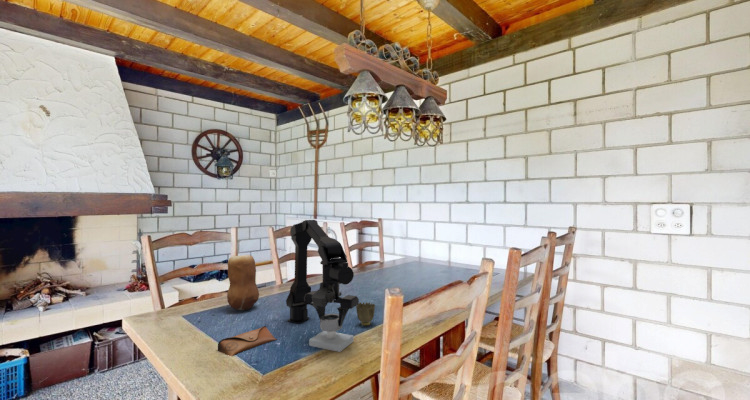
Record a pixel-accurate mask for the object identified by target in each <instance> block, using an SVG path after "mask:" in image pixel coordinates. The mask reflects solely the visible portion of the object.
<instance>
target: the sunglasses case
mask: <svg viewBox="0 0 750 400" xmlns="http://www.w3.org/2000/svg"><path fill="white" fill-rule="evenodd" d="M277 340H278V339H277V338H275V336H274V335H273V334H272V332H270V330H269V329H268V328H267V326H265V325H264V326H261V327H260V328H257V329H253V330H250V331H246V332H242V333H240V334H238V335H237V334H236V335H235V336H229V337H225V338H223V339H220V341H219V342H218V343H217V351H218V352H220V353H222V354H224V353H225V354H224V355H226V356H228V355H229V356H228V357H230V356H231V357H234V356H236V355H239V354H241V353H244V352H246V351H248V350H252V349H254V348H258V347H260V346H263V345H265V344H269V343H272V342H275V341H277ZM243 351H244V352H243ZM238 353H239V354H238Z"/></svg>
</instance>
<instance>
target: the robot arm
mask: <svg viewBox="0 0 750 400" xmlns="http://www.w3.org/2000/svg"><path fill="white" fill-rule="evenodd" d="M318 223H319V222H318V221H317V220H316V219H305V220H302V221H301V222H298V223H296V224H293V225H292V226H291V227H290V232H289V234H290V237H291V238H290V239H291V241H292V242H293V244H294V247H295V249H294V279H293V280H294V281H293V282H292V284H291V286H290V287H289V293H288V295H287V298H286V299H285V302H286V303H285V304H286V306H287V307H288V308H289V319H287V322H290V323H295V324H301V323H303V322H306V321H307V320H309V319H310V317H309V316H308V315H309V313H308V312H309V311H308V305H310V306H311V307H313V308H314V309H315V311H316V312H317V315H318V318H319V319H320V317H322V316H323V315H326V306H327V305H328V304H332V303H336V304H339V305H340V306H338V307H337V308H336V309H337V311H338V314H339V326H342V327H343V324H344V322H345V321H344V320H345V318H346V316H347V313H348V312H349V310H350V309H353V308H355V307H356V306H357V305H358V304H359V303H360V302H359V300H360V299H359V297H358V296H357V295H350V294H348V295H346V296H344V297H341V296H342V292H341V291H340V285H349V284H350V283H351V282H352V281H353V279H354V274H355V273H354V271H353V269H352V268H351V267H350V266H349V263H348V259H347V257H348V256H347V254H346V252H345V250H344V248H343V245H342V244H341V242H340V241H338V240H337V239H335V238H333V237H330V236H329V235H328V234H327V233H326V232H325V231H324V229H323V228H322V227H321V226H320V225H319V224H318ZM311 241H313V242H314V243H315V244H316V245H317V247H318V248H317V254H318V255H319V257H320V259H321V261H319V263H320V265H322V282H320V284H319V289H317V290H312V287H311V285H309V283H308V282H307V281H308V277H307V276H308V274H307V273H308V271H307V270H308V246H309V244H310V243H311Z"/></svg>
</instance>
